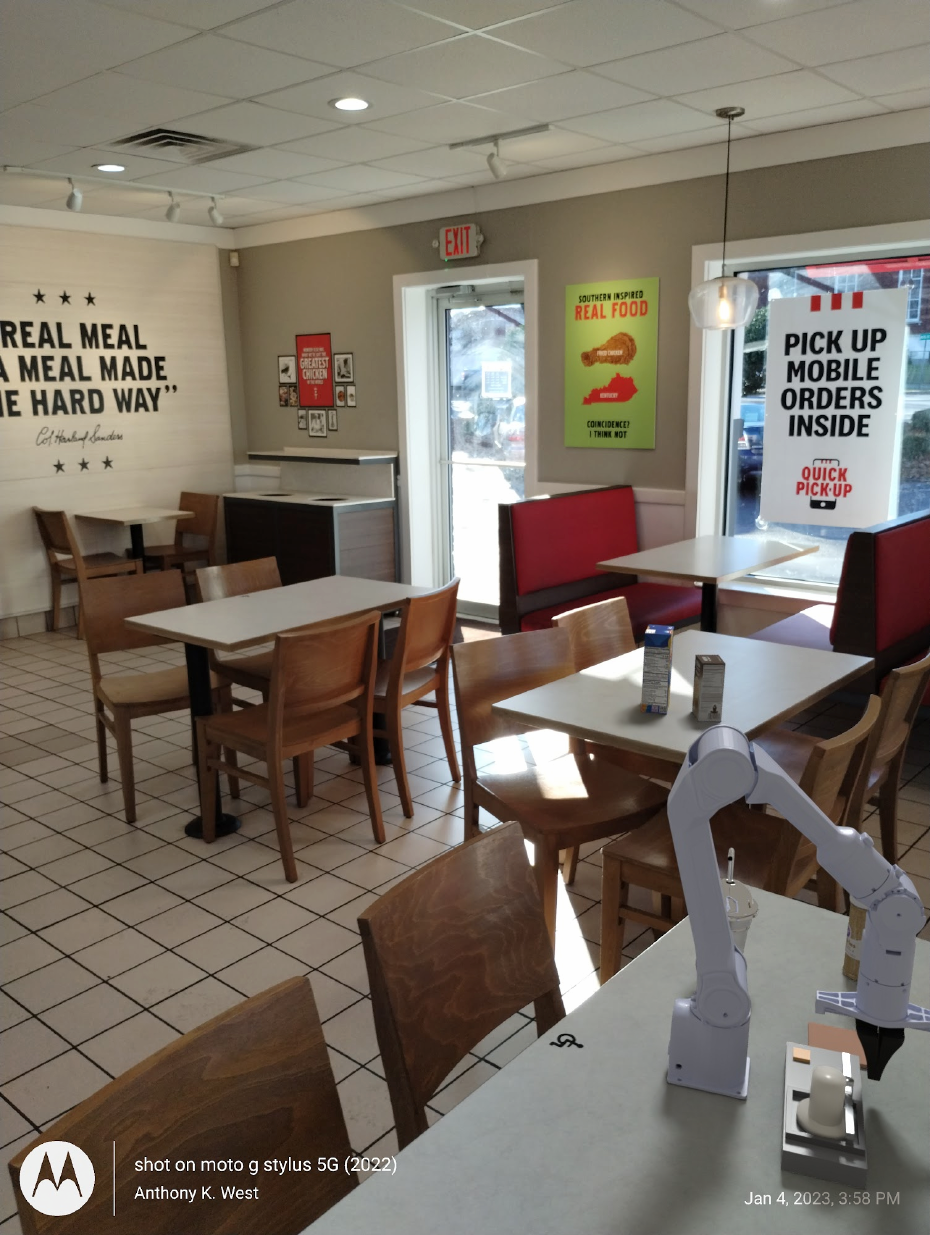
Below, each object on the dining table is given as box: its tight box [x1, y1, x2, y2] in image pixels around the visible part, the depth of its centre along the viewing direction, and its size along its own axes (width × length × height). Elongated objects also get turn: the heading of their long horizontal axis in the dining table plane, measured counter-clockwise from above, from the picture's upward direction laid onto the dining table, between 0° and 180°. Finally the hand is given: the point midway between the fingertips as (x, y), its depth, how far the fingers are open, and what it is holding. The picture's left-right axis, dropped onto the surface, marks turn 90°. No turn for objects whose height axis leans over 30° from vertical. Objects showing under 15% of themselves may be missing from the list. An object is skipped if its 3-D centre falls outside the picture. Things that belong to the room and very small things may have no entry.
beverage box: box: [640, 624, 675, 716], centre depth 272 cm, size 7×11×22 cm, turn 165°
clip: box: [842, 1052, 854, 1141], centre depth 115 cm, size 1×14×2 cm, turn 162°
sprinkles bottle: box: [842, 893, 869, 982], centre depth 146 cm, size 5×5×13 cm
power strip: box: [780, 1041, 869, 1191], centre depth 117 cm, size 9×20×3 cm, turn 161°
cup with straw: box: [721, 847, 760, 954], centre depth 146 cm, size 8×9×20 cm
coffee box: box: [691, 654, 726, 722], centre depth 266 cm, size 9×6×16 cm
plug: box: [796, 1066, 846, 1141], centre depth 112 cm, size 6×6×6 cm
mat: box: [807, 1021, 867, 1069], centre depth 130 cm, size 7×7×1 cm
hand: (873, 1075), depth 120 cm, fingers closed
